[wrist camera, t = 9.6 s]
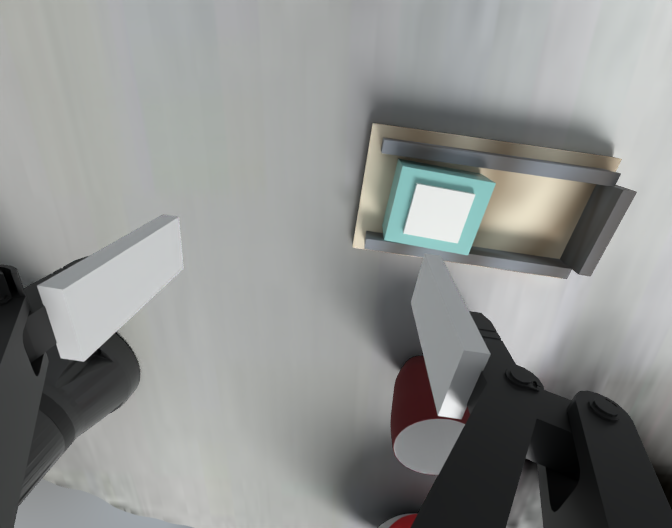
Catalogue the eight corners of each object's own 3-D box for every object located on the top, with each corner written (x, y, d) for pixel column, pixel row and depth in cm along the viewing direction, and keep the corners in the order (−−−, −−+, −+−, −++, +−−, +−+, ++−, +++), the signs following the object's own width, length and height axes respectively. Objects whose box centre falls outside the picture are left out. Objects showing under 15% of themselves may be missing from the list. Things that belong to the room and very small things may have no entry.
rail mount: (352, 243, 32) (351, 261, 29) (372, 122, 27) (373, 126, 24) (556, 273, 32) (580, 295, 28) (613, 157, 27) (651, 165, 23)
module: (382, 225, 30) (384, 242, 27) (398, 158, 27) (403, 167, 24) (457, 238, 30) (469, 257, 27) (480, 173, 27) (498, 184, 24)
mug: (445, 316, 35) (473, 390, 26) (488, 360, 37) (527, 442, 28) (371, 365, 39) (374, 443, 30) (415, 402, 41) (428, 485, 32)
